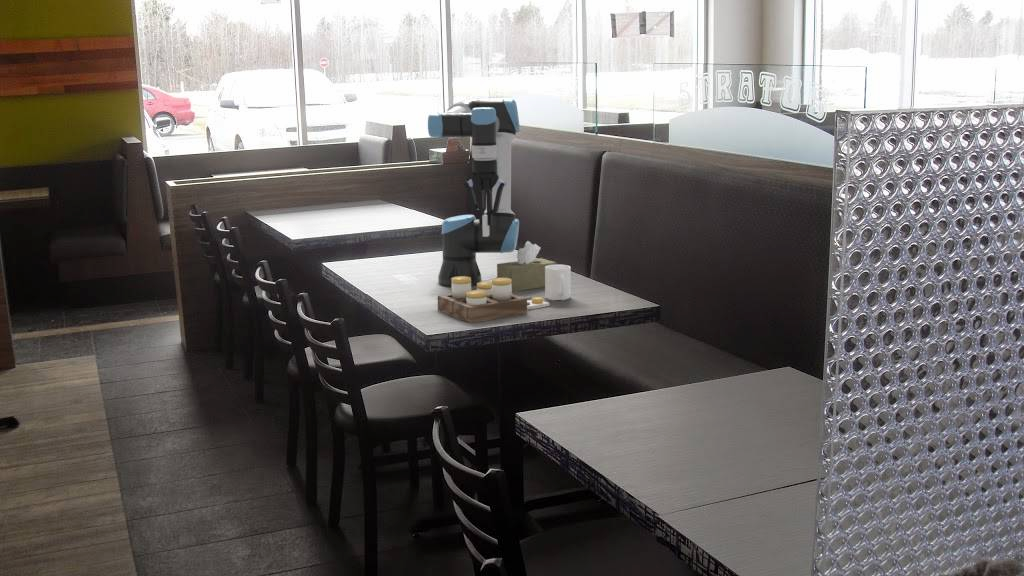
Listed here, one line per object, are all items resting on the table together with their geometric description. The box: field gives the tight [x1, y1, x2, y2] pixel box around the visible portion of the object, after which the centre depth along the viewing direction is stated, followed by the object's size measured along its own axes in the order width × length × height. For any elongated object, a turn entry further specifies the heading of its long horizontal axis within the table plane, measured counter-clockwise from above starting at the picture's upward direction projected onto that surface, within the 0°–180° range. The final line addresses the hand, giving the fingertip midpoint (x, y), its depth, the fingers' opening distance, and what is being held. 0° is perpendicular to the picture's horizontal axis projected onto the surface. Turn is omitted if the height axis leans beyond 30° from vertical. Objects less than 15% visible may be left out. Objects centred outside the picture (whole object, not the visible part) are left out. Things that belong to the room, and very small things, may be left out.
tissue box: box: [496, 240, 558, 292], centre depth 336 cm, size 19×10×16 cm, turn 121°
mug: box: [544, 264, 572, 301], centre depth 316 cm, size 12×8×10 cm
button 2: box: [466, 289, 487, 306], centre depth 295 cm, size 6×6×6 cm
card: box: [522, 295, 550, 311], centre depth 310 cm, size 12×10×2 cm
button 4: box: [491, 277, 513, 301], centre depth 299 cm, size 6×6×6 cm
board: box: [437, 289, 528, 324], centre depth 302 cm, size 20×20×5 cm
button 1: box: [451, 276, 472, 300], centre depth 302 cm, size 6×6×6 cm
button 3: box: [476, 281, 492, 296], centre depth 307 cm, size 6×6×6 cm
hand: (486, 235), depth 303 cm, fingers closed
